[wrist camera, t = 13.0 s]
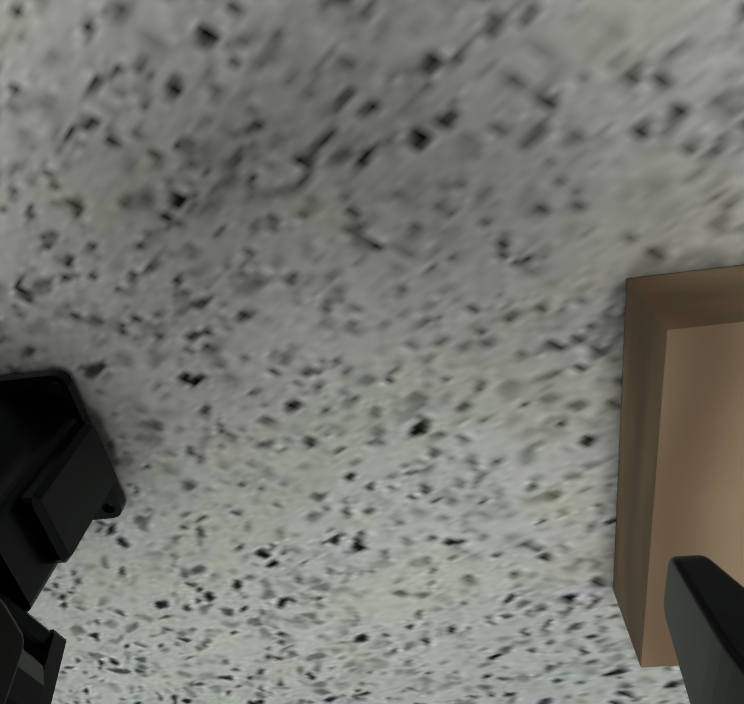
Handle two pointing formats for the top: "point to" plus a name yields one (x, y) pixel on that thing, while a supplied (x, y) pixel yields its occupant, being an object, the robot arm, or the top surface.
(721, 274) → the walnut plinth
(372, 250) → the top surface
